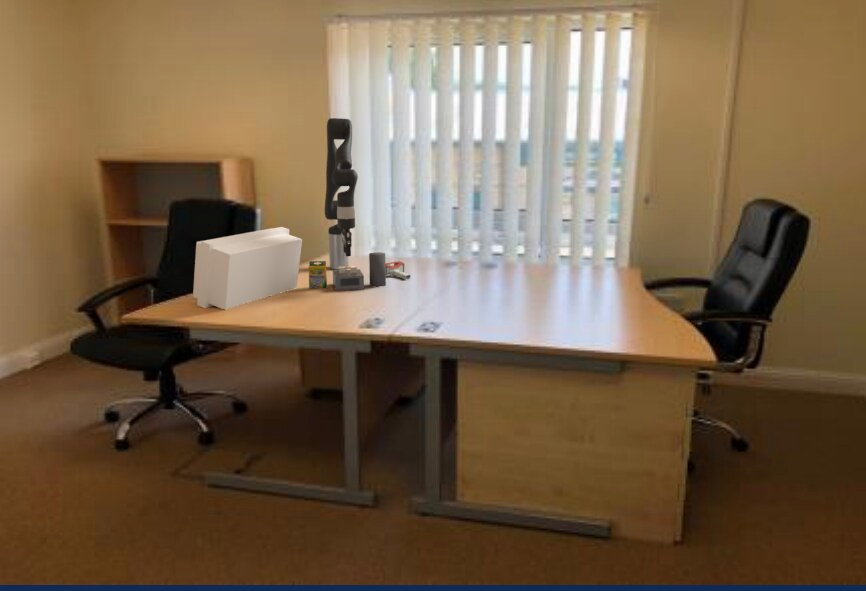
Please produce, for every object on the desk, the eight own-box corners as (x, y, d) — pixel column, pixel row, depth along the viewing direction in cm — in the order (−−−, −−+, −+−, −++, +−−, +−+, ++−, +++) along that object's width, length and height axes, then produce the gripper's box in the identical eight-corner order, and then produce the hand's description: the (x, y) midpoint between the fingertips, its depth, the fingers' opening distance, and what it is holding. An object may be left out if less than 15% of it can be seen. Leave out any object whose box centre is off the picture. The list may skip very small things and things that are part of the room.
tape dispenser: (409, 284, 312) (416, 272, 331) (409, 273, 310) (416, 262, 329) (371, 281, 314) (380, 270, 333) (371, 270, 312) (380, 259, 331)
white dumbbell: (338, 272, 297) (338, 266, 296) (356, 271, 299) (356, 265, 298) (339, 273, 296) (339, 268, 295) (356, 272, 298) (356, 267, 297)
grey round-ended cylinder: (368, 283, 305) (368, 252, 301) (384, 282, 306) (383, 252, 303) (371, 287, 298) (370, 255, 295) (386, 286, 300) (386, 254, 296)
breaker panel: (333, 283, 305) (332, 270, 303) (360, 282, 307) (359, 269, 306) (335, 290, 291) (335, 277, 290) (364, 289, 294) (363, 275, 292)
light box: (268, 280, 305) (274, 224, 297) (298, 291, 298) (305, 234, 290) (189, 301, 267) (193, 238, 258) (221, 315, 260) (226, 250, 251)
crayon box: (309, 289, 295) (308, 262, 292) (310, 287, 298) (308, 261, 295) (326, 288, 295) (325, 262, 292) (327, 287, 298) (325, 260, 295)
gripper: (335, 215, 298) (336, 251, 302) (338, 219, 285) (340, 257, 288) (353, 214, 300) (354, 251, 304) (356, 218, 286) (357, 257, 290)
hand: (347, 254), depth 296 cm, fingers open, 8 cm apart
